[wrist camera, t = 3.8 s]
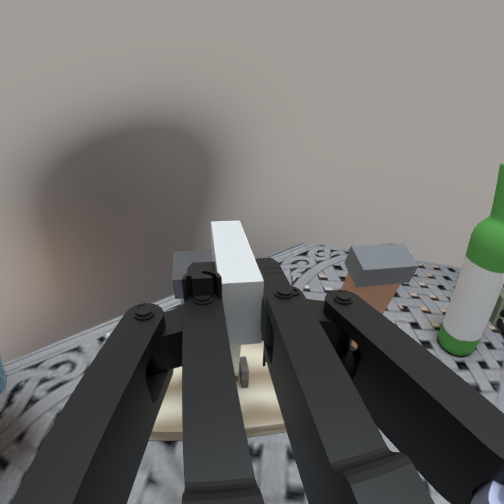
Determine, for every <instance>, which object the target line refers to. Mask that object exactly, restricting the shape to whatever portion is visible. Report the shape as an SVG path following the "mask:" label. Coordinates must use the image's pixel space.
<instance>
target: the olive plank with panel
mask: <svg viewBox="0 0 504 504" xmlns="http://www.w3.org/2000/svg"><path fill="white" fill-rule="evenodd" d="M503 318H504V289H503V288H502V289H501V292H500V295H499V297H498V300H497V302H496V305H495V307H494V309H493V312H492V314H491V317H490V319H489V320H490V321H491V323H492V324H493V325H498V326H499V327H500V329H501V330H502V332H503V333H504V324H503V321H502V320H503Z"/></svg>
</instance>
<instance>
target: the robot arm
mask: <svg viewBox="0 0 504 504" xmlns="http://www.w3.org/2000/svg"><path fill="white" fill-rule="evenodd" d="M211 235H212V262H194V263H191V265H190V266H189V267H188V268H187V274H185V275H184V276H183V278H182V287H183V297H184V303H183V304H182V305H181V306H180V307H178V308H176V309H174V310H171V311H167V312H163V310H162V308H161V307H159V306H158V305H155V304H151V303H149V304H146V303H144V304H139V305H136V306H134V307H132V308H130V309H129V310H128V311H127V312H126V313H125V315H124V316H123V317H122V319H121V320H120V322H119V323H118V325H117V326H116V327H115V329H114V330H113V332H112V333H111V335H110V336H109V338H108V339H107V341H106V342H105V344H104V345H103V347H102V348H101V350H100V351H99V353H98V354H97V356H96V357H95V359H94V360H93V362H92V363H91V365H90V366H89V368H88V369H87V371H86V372H85V374H84V376H83V377H82V379H81V380H80V382H79V383H78V385H77V387H76V388H75V390H74V391H73V393H72V395H71V396H70V398H69V399H68V401H67V403H66V404H65V406H64V408H63V409H62V411H61V413H60V414H59V416H58V418H57V419H56V421H55V423H54V424H53V426H52V428H51V430H50V431H49V433H48V435H47V437H46V438H45V440H44V442H43V444H42V445H41V447H40V449H39V451H38V452H37V454H36V456H35V458H34V460H33V462H32V463H31V465H30V467H29V469H28V471H27V473H26V475H25V477H24V479H23V481H22V482H21V484H20V486H19V488H18V490H17V492H16V494H15V496H14V498H13V500H12V502H11V504H127V501H128V498H129V495H130V492H131V489H132V486H133V483H134V481H135V478H136V475H137V472H138V469H139V466H140V463H141V460H142V458H143V455H144V452H145V449H146V446H147V443H148V441H149V438H150V435H151V432H152V430H153V427H154V424H155V421H156V419H157V416H158V413H159V410H160V408H161V405H162V402H163V400H164V397H165V394H166V391H167V389H168V386H169V383H170V381H171V378H172V376H173V370H174V368H178V367H181V366H182V429H183V458H184V478H185V491H184V493H183V496H182V504H264V501H263V498H262V494H261V491H260V489H259V487H258V486H257V484H256V480H255V476H254V471H253V466H252V462H251V457H250V452H249V447H248V442H247V437H246V432H245V427H244V421H243V416H242V411H241V406H240V400H239V395H238V389H237V384H236V378H235V373H234V367H233V361H232V355H231V349H230V346H234V345H246V344H258V343H261V334H262V336H263V339H264V348H263V366H266V362H267V366H268V369H269V373H270V376H271V380H272V383H273V387H274V390H275V393H276V397H277V400H278V404H279V407H280V410H281V414H282V417H283V421H284V424H285V427H286V431H287V434H288V437H289V441H290V444H291V447H292V451H293V454H294V457H295V460H296V464H297V467H298V470H299V474H300V477H301V480H302V483H303V487H304V490H305V493H306V496H307V499H308V503H309V504H434V502H433V500H432V498H431V496H430V494H429V492H428V490H427V488H426V487H425V485H424V483H423V481H422V479H421V477H420V475H419V474H418V472H419V473H420V474H421V475H422V476H423V477H424V478H425V479H426V480H427V481H428V482H429V483H430V485H431V486H432V487H433V488H434V489H435V490H436V491H437V492H438V493H439V494H440V495H441V496H442V497H444V498H445V499H446V500H447V501H448V502H450V503H451V504H504V414H503V413H502V412H501V411H500V410H499V409H498V408H496V407H495V406H494V405H493V404H492V403H491V402H489V401H488V400H487V399H486V398H485V397H484V396H482V395H481V394H480V393H479V392H478V391H476V390H475V389H474V388H473V387H472V386H470V385H469V384H468V383H467V382H466V381H464V380H463V379H462V378H461V377H460V376H458V375H457V374H456V373H455V372H453V371H452V370H451V369H450V368H449V367H447V366H446V365H445V364H444V363H442V362H441V361H440V360H439V359H438V358H436V357H435V356H434V355H433V354H431V353H430V352H429V351H428V350H426V349H425V348H424V347H423V346H421V345H420V344H419V343H418V342H416V341H415V340H414V339H413V338H411V337H410V336H409V335H408V334H406V333H405V332H404V331H403V330H401V329H400V328H399V327H398V326H396V325H395V324H394V323H392V322H391V321H390V320H389V319H387V318H386V317H385V316H384V315H382V314H381V313H380V312H378V311H377V310H376V309H375V308H373V307H372V306H371V305H369V304H368V303H367V302H366V301H364V300H363V299H362V298H360V297H359V296H358V295H356V294H354V293H352V292H349V291H347V290H334V291H331V292H328V293H327V295H326V296H325V301H318V300H310V299H306V298H305V296H304V294H303V293H302V292H301V290H300V289H298V288H296V287H293V286H291V285H290V283H289V281H288V280H287V278H286V276H285V274H284V272H283V270H282V269H281V267H280V265H279V263H278V262H277V261H275V260H274V259H272V258H258V259H255V258H254V255H253V253H252V251H251V248H250V245H249V243H248V240H247V238H246V235H245V233H244V230H243V228H242V225H241V223H240V221H217V222H211ZM352 340H353V341H354V342H355V343H356V344H357V345H358V346H357V349H355V348H354V347H353V346H352V345H351V344H352ZM6 382H7V378H6V373H5V369H4V366H3V363H2V360H1V357H0V394H1V393H2V392H3V391H4V389H5V387H6ZM377 427H378V428H379V429H380V430H381V431H382V432H383V433H384V435H385V436H386V437H387V438H388V439H389V440H390V441H391V442H392V443H393V444H394V446H395V447H396V448H397V449H398V450H399V451H400V452H392V451H390V450H389V448H388V447H387V445H386V443H385V441H384V440H383V438H382V436H381V434H380V432H379V430H378V428H377ZM417 471H418V472H417Z"/></svg>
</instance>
